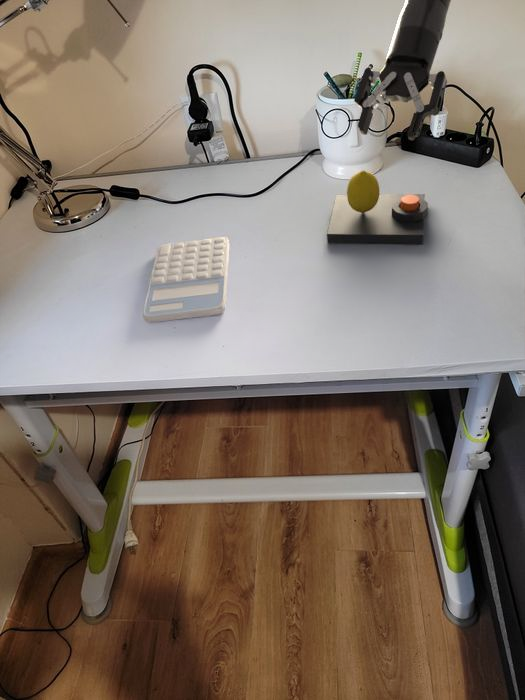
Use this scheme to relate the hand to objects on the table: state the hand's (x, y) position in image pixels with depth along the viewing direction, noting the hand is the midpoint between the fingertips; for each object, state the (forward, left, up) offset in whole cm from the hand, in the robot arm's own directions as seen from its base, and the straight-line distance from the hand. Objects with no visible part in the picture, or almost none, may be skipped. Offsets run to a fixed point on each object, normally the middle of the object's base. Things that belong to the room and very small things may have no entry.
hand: (386, 135), depth 85 cm
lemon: (+3, +6, -11) cm, 13 cm away
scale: (+1, +6, -13) cm, 14 cm away
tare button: (-5, +6, -10) cm, 12 cm away
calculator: (+31, +24, -13) cm, 41 cm away
